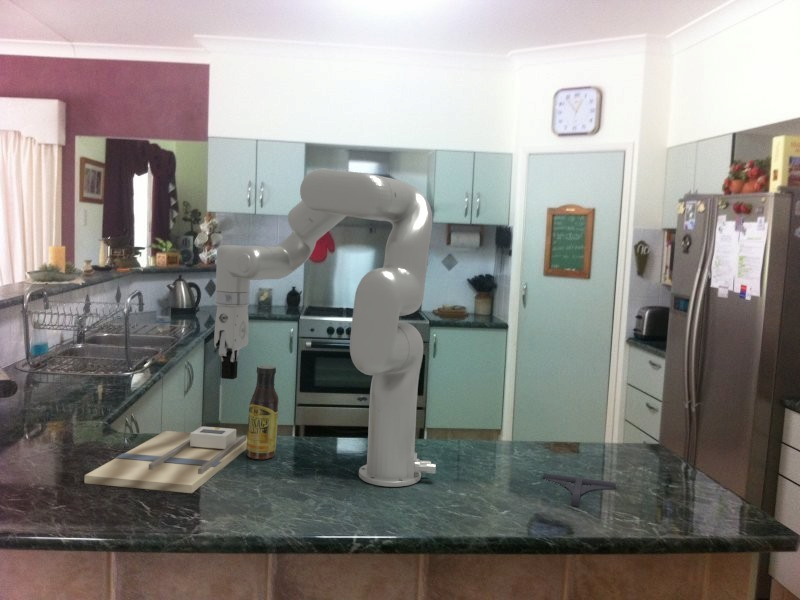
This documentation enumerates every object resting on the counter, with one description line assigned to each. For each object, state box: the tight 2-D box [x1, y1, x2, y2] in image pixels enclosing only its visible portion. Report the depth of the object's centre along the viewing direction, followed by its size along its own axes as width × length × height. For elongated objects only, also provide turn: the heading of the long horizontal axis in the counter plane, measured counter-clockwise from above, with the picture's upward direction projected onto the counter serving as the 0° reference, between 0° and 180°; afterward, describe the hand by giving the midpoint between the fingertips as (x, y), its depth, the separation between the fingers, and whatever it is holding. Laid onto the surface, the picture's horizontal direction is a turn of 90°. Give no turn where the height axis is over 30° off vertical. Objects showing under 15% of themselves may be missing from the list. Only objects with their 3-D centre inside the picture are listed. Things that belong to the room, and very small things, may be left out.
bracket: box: [542, 472, 617, 508], centre depth 131 cm, size 14×15×3 cm
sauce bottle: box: [246, 364, 279, 461], centre depth 145 cm, size 6×6×20 cm
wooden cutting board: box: [83, 430, 247, 494], centre depth 140 cm, size 21×32×2 cm, turn 173°
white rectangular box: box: [189, 425, 237, 449], centre depth 147 cm, size 6×8×3 cm
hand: (229, 378), depth 155 cm, fingers closed
